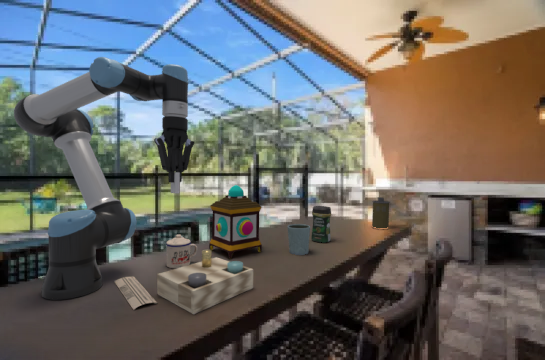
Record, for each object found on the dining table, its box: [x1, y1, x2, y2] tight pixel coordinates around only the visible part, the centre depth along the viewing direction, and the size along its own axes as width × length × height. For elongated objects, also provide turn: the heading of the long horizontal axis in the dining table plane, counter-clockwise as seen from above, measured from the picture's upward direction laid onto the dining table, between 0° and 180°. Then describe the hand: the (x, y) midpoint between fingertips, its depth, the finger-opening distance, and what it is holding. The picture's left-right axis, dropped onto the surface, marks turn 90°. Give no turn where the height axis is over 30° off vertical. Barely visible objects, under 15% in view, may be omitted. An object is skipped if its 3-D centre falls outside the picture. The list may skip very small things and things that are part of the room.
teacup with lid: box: [165, 234, 198, 269], centre depth 112 cm, size 12×9×12 cm
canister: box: [371, 196, 391, 228], centre depth 188 cm, size 11×10×20 cm
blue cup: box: [286, 223, 311, 256], centre depth 131 cm, size 10×10×12 cm
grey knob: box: [188, 273, 206, 289], centre depth 79 cm, size 5×5×6 cm
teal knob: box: [227, 260, 244, 274], centre depth 90 cm, size 5×5×6 cm
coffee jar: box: [311, 205, 332, 244], centre depth 152 cm, size 10×8×19 cm
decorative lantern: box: [208, 184, 263, 260], centre depth 130 cm, size 20×20×30 cm
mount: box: [156, 256, 254, 315], centre depth 88 cm, size 22×18×6 cm
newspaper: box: [114, 276, 158, 311], centre depth 86 cm, size 24×7×2 cm, turn 39°
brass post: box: [201, 248, 213, 268], centre depth 93 cm, size 3×3×5 cm
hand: (175, 192), depth 91 cm, fingers closed
